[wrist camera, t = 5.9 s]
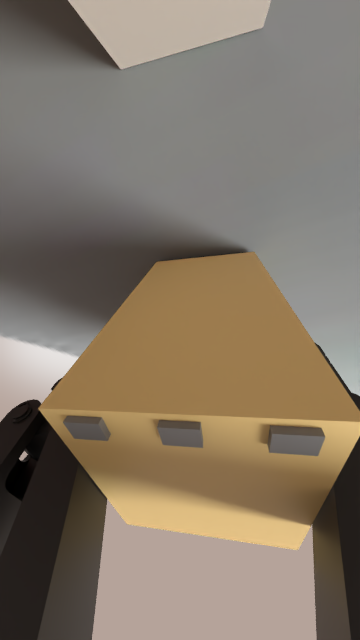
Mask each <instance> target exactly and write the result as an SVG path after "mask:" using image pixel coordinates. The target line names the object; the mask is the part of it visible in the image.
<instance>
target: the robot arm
mask: <svg viewBox="0 0 360 640" xmlns="http://www.w3.org/2000/svg"><path fill="white" fill-rule="evenodd" d="M315 344H316V343H315ZM316 346H317V347H318V349H319V350H320V352H321V353H322V355H323V356H324V358H325V360H326V361H327V363H328V364H329V366H330V367H331V369H332V370H333V372H334V373H335V375H336V376H337V378H338V379H339V381H340V382H341V384H342V385H343V387H344V388H345V390H346V391H347V393H348V394H349V396H350V397H351V399H352V400H353V402H354V403H355V405H356V406H357V408H358V409H359V411H360V396H358V395H356V394H354V393H351V392H350V390H349V389H348V387H347V386H346V384H345V383H344V381H343V380H342V378H341V377H340V375H339V374H338V373H337V371H336V370H335V368H334V367H333V365H332V364H330V361H329V359H328V358H327V356H325V353H324V352H323V350H322V349H321V347H320V346H319V345H317V344H316ZM61 379H62V378H61ZM61 379H60V380H58V381H57V382H56V383H55V384H54V386H53V387H52V388H51V389H52V391H53V389H54V388H55V387H56V386H57V384H58V383H59V382H60V381H61ZM40 405H41V403H40V402H39V401H38V400H29V401H26V402H23V403H21V404H19V405H18V406H16V407H15V408H13V409H12V410H11V411H10V412H9V413H8V414H7V415H6V416H5V418H4V419H3V420H2V421H1V422H0V640H92V632H93V623H94V614H95V604H96V595H97V587H98V578H99V568H100V559H101V550H102V541H103V532H104V523H105V514H106V505H107V497H106V496H105V495H104V494H103V492H102V491H101V490H100V488H99V487H98V486H97V485H96V483H95V482H94V481H93V479H92V478H91V477H90V475H89V474H88V473H87V472H86V470H85V469H84V468H83V466H82V465H81V464H80V462H79V461H78V460H77V459H76V457H75V456H74V455H73V453H72V452H71V451H70V449H69V448H68V447H67V446H66V444H65V443H64V442H63V440H62V439H61V438H60V436H59V435H58V434H57V433H56V431H55V430H54V429H53V427H52V426H51V425H50V423H49V422H48V421H47V420H46V418H45V417H44V416H43V414H42V413H41V412H40V410H39V409H38V408H39V407H40ZM24 451H25V452H26V453H27V454H28V455H27V457H26V458H25V459H24V460H23V461H20V460H19V457H20V456H21V454H22V453H23V452H24ZM312 528H313V554H314V579H315V606H316V631H317V640H360V436H359V438H358V440H357V442H356V444H355V446H354V448H353V449H352V451H351V453H350V455H349V457H348V459H347V460H346V462H345V464H344V466H343V468H342V470H341V472H340V473H339V475H338V477H337V479H336V481H335V483H334V484H333V486H332V488H331V490H330V492H329V494H328V496H327V497H326V499H325V501H324V503H323V505H322V507H321V508H320V510H319V512H318V514H317V516H316V518H315V520H314V521H313V523H312Z"/></svg>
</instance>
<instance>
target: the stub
mask: <svg viewBox="0 0 360 640" xmlns="http://www.w3.org/2000/svg"><path fill="white" fill-rule="evenodd" d="M38 409H39V410H40V412H41V413H42V414H43V416H44V417H45V418H46V420H47V421H48V422H49V423H50V425H51V426H52V427H53V429H54V430H55V431H56V433H57V434H58V435H59V436H60V438H61V439H62V440H63V442H64V443H65V444H66V446H67V447H68V448H69V449H70V451H71V452H72V453H73V455H74V456H75V457H76V459H77V460H78V461H79V462H80V464H81V465H82V466H83V468H84V469H85V470H86V472H87V473H88V474H89V475H90V477H91V478H92V479H93V481H94V482H95V483H96V485H97V486H98V487H99V488H100V490H101V491H102V492H103V494H104V495H105V496H106V497H107V499H108V500H109V501H110V503H111V504H112V505H113V506H114V508H115V509H116V510H117V512H118V513H119V514H120V516H121V517H122V518H123V519H124V521H125V522H126V523H127V524H129V525H136V526H142V527H149V528H155V529H163V530H168V531H175V532H182V533H188V534H195V535H201V536H208V537H215V538H221V539H228V540H234V541H241V542H247V543H254V544H261V545H267V546H274V547H281V548H287V549H294V550H298V549H299V547H300V545H301V544H302V541H303V540H304V538H305V536H306V534H307V532H308V531H309V529H310V527H311V525H312V523H313V521H314V520H315V518H316V516H317V514H318V512H319V510H320V508H321V507H322V505H323V503H324V501H325V499H326V497H327V496H328V494H329V492H330V490H331V488H332V486H333V484H334V483H335V481H336V479H337V477H338V475H339V473H340V472H341V470H342V468H343V466H344V464H345V462H346V460H347V459H348V457H349V455H350V453H351V451H352V449H353V448H354V446H355V444H356V442H357V440H358V438H359V436H360V411H359V409H358V408H357V406H356V405H355V403H354V402H353V400H352V399H351V397H350V396H349V394H348V393H347V391H346V390H345V388H344V387H343V385H342V384H341V382H340V381H339V379H338V378H337V376H336V375H335V373H334V372H333V370H332V369H331V367H330V366H329V364H328V363H327V361H326V360H325V358H324V356H323V355H322V353H321V352H320V350H319V349H318V347H317V346H316V344H315V343H314V341H313V340H312V338H311V337H310V335H309V334H308V332H307V331H306V329H305V328H304V326H303V325H302V323H301V322H300V320H299V319H298V317H297V316H296V314H295V313H294V311H293V310H292V308H291V307H290V305H289V304H288V302H287V301H286V299H285V298H284V296H283V295H282V293H281V292H280V290H279V289H278V287H277V286H276V284H275V282H274V281H273V279H272V278H271V276H270V275H269V273H268V272H267V270H266V269H265V267H264V266H263V264H262V263H261V261H260V260H259V258H258V257H257V255H256V254H255V252H247V253H237V254H227V255H218V256H208V257H198V258H188V259H179V260H169V261H159V262H156V263H155V264H154V266H153V267H152V268H151V269H150V271H149V272H148V273H147V274H146V275H145V277H144V278H143V279H142V280H141V282H140V283H139V284H138V285H137V287H136V288H135V289H134V290H133V292H132V293H131V294H130V295H129V297H128V298H127V299H126V300H125V301H124V303H123V304H122V305H121V306H120V308H119V309H118V310H117V311H116V313H115V314H114V315H113V316H112V318H111V319H110V320H109V321H108V323H107V324H106V325H105V326H104V327H103V329H102V330H101V331H100V332H99V334H98V335H97V336H96V337H95V339H94V340H93V341H92V342H91V344H90V345H89V346H88V347H87V348H86V350H85V351H84V352H83V353H82V355H81V356H80V357H79V358H78V360H77V361H76V362H75V363H74V365H73V366H72V367H71V368H70V370H69V371H68V372H67V373H66V375H65V376H64V377H63V378H62V379H61V381H60V382H59V383H58V384H57V386H56V387H55V388H54V389H53V391H52V392H51V393H50V394H49V396H48V397H47V398H46V399H45V400H44V402H43V403H42V404H41V405H40V407H39V408H38Z"/></svg>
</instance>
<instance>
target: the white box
mask: <svg viewBox="0 0 360 640" xmlns="http://www.w3.org/2000/svg"><path fill="white" fill-rule="evenodd" d="M68 1H69V3H70V4H71V5H72V6H73V8H74V9H75V10H76V12H77V13H78V14H79V16H80V17H81V18H82V19H83V21H84V22H85V23H86V25H87V26H88V27H89V29H90V30H91V31H92V33H93V34H94V35H95V36H96V38H97V39H98V40H99V42H100V43H101V44H102V46H103V47H104V48H105V49H106V51H107V52H108V53H109V55H110V56H111V57H112V59H113V60H114V61H115V63H116V64H117V65H118V66H119V68H120V69H125V68H128V67H131V66H135V65H138V64H142V63H145V62H148V61H152V60H155V59H159V58H162V57H165V56H169V55H172V54H175V53H179V52H182V51H186V50H189V49H192V48H196V47H199V46H203V45H206V44H209V43H213V42H216V41H220V40H223V39H226V38H230V37H233V36H236V35H240V34H243V33H247V32H250V31H253V30H257V29H260V28H263V26H264V22H265V19H266V16H267V12H268V9H269V6H270V2H271V0H68Z"/></svg>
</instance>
